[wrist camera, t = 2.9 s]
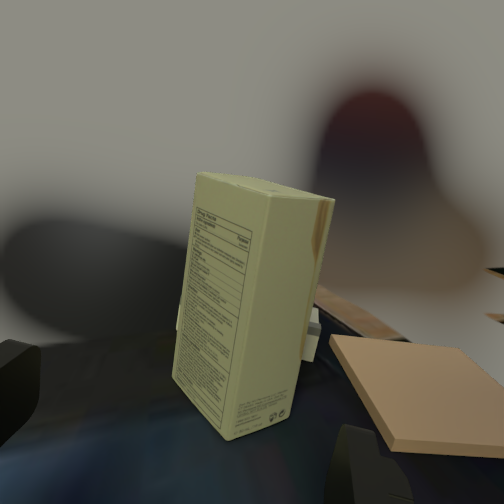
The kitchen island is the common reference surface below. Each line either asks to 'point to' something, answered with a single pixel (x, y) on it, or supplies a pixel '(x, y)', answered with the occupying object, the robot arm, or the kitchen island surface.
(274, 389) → the skincare box
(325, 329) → the kitchen island surface
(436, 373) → the coaster
